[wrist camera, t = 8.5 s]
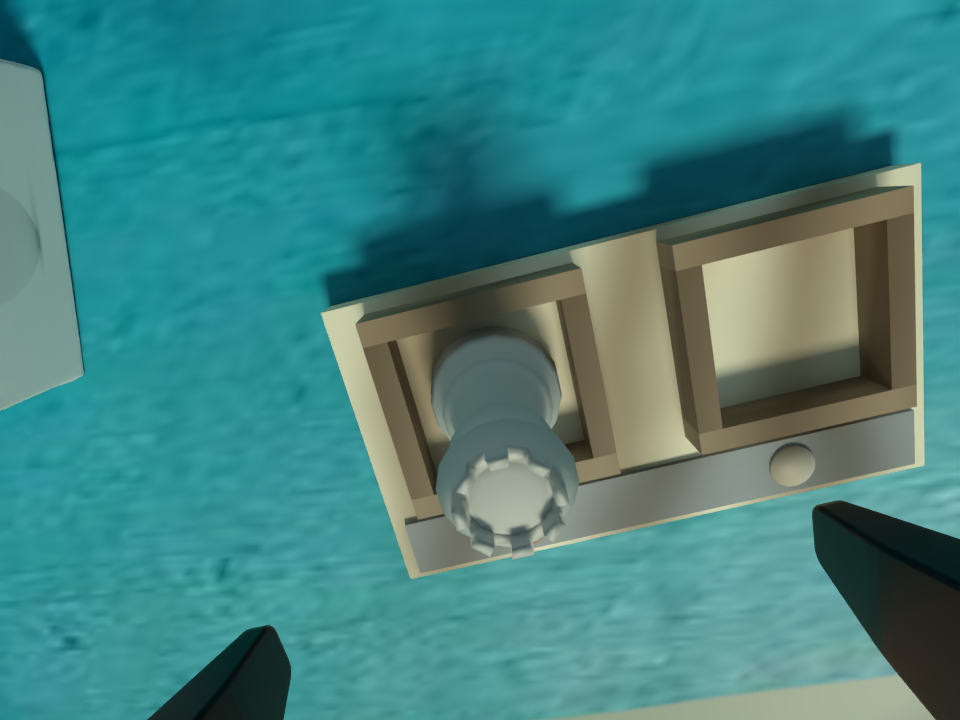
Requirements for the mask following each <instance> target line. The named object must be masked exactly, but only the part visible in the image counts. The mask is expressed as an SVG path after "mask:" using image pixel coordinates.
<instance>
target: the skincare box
mask: <svg viewBox="0 0 960 720" xmlns="http://www.w3.org/2000/svg"><path fill="white" fill-rule="evenodd" d="M82 375H84V369H83V362H82V354H81V346H80V338H79V331H78V324H77V317H76V310H75V303H74V296H73V288H72V281H71V274H70V267H69V260H68V252H67V245H66V238H65V231H64V224H63V217H62V209H61V203H60V196H59V189H58V182H57V175H56V168H55V163H54V157H53V150H52V141H51V135H50V128H49V121H48V112H47V106H46V100H45V93H44V84H43V77H42V74H41V72H40V71H39V70H38V69H36V68H33V67H30V66H27V65H24V64H20V63H16V62H12V61H7V60H2V59H0V411H1V410H3V409H6V408H8V407H10V406H12V405H15V404H17V403H19V402H21V401H24V400H26V399H28V398H30V397H33V396H35V395H37V394H40V393H42V392H44V391H46V390H49V389H51V388H53V387H56V386H59V385H62V384H65V383H68V382H71V381H73V380H75V379H77V378H79V377H81V376H82Z"/></svg>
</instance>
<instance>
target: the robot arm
mask: <svg viewBox="0 0 960 720" xmlns="http://www.w3.org/2000/svg"><path fill="white" fill-rule="evenodd" d="M812 520H813V533H814V545H815V552H816V555H817V558H818V560H819V562H820V564H821V566H822V567H823V569H824V570H825V572H826V573H827V575H828V576H829V577H830V579H831V580H832V582H833V583H834V585H835V586H836V588H837V589H838V591H839V592H840V594H841V595H842V597H843V598H844V600H845V601H846V603H847V604H848V605H849V607H850V608H851V610H852V611H853V613H854V614H855V616H856V617H857V619H858V620H859V622H860V623H861V625H862V626H863V628H864V629H865V631H866V632H867V633H868V635H869V636H870V638H871V639H872V641H873V642H874V644H875V645H876V646H877V648H878V649H879V651H880V652H881V653H882V655H883V656H884V657H885V659H886V660H887V661H888V662H889V664H890V665H891V666H892V667H893V669H894V670H895V671H896V672H897V674H898V675H899V676H900V677H901V678H902V679H903V681H904V682H905V683H906V684H907V686H908V687H909V688H910V689H911V690H912V692H913V693H914V694H915V695H916V697H918V699H919V700H920V701H921V703H922V704H923V705H924V706H925V707H926V709H927V710H928V711H929V712H930V713H931V715H932V716H933V717H934V718H935V720H960V539H958V538H955V537H952V536H949V535H946V534H943V533H940V532H936V531H933V530H930V529H927V528H924V527H921V526H918V525H915V524H912V523H909V522H906V521H903V520H900V519H897V518H894V517H891V516H888V515H885V514H882V513H879V512H875V511H872V510H869V509H866V508H863V507H860V506H857V505H854V504H851V503H848V502H845V501H833V502H829V503H824V504H820V505H816V506H815V507H814V508H813V511H812ZM290 679H291V666H290V662H289V659H288V657H287V654H286V652H285V650H284V648H283V645H282V643H281V641H280V638H279V636H278V634H277V632H276V630H275V628H273V627H272V626H270V625H265V626H261V627H256V628H251V629H248V630H246V631H245V632H243V633H242V634H241V635H240V636H239V637H238V638H237V639H236V640H235V641H233V642H232V643H231V644H230V645H229V646H228V647H227V648H226V649H225V650H224V651H222V652H221V653H220V654H219V655H218V656H217V657H216V658H215V659H214V660H213V661H211V662H210V663H209V664H208V665H207V666H206V667H205V668H204V669H203V670H201V671H200V672H199V673H198V674H197V675H196V676H195V677H194V678H193V679H192V680H190V681H189V682H188V683H187V684H186V685H185V686H184V687H183V688H182V689H181V690H179V691H178V692H177V693H176V694H175V695H174V696H173V697H172V698H171V699H170V700H168V701H167V702H166V703H165V704H164V705H163V706H162V707H161V708H160V709H158V710H157V711H156V712H155V713H154V714H153V715H152V716H151V717H150V718H149V719H147V720H283V719H284V714H285V708H286V702H287V697H288V691H289V685H290Z"/></svg>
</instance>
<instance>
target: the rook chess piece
mask: <svg viewBox="0 0 960 720" xmlns="http://www.w3.org/2000/svg"><path fill="white" fill-rule="evenodd" d="M430 393H431V405H432V408H433V411H434V415H435V418H436V421H437V425H438V426H439V428H440V429H441V430H442V431H443V433H444V434H445V435H446V436H447V437H448V439H449V440H450V441H451V442H450V448H449V449H448V451H447V452H446V454H445V456H444V457H443V459H442V460H441V462H440V464H439V469H438V476H437V483H436V492H437V495H438V498H439V502H440V505H441V508H442V511H443V514H444V515H445V516H446V517H447V518H448V519H449V520H450V522H451V523H452V524H453V525H454V526H455V527H456V530H457V531H459V532H460V533H462V534H464V535H466V536H468V537H470V538H471V548H473V549H475V550H477V551H479V552H481V553H483V554H485V555H487V556H489V557H491V554H492V552H493V549H494V547H495V545H496V546H505V547H511V550H512V558H513V559H517V558H522V557H526V556H531V555H535V553H534V548H533V542H535V541H538V540H539V539H541V538H542V537H544V536H546V537H547V538H548V539H549V540H551V541H552V542H554V541H555V540H556V538H557V537H558V536H559V534H560V533H561V531H562V530H563V529H564V527H565V526H566V524H565V521H564V519H565V518H566V516H567V515H568V514H569V512H570V511H571V509H572V508H573V507H574V504H575V499H576V495H577V490H578V485H579V477H578V473H577V469H576V464H575V460H574V456H573V455H572V454H571V452H570V451H569V450H568V449H567V447H566V446H565V445H564V443H563V442H562V441H561V439H560V438H559V437H558V436H557V435H555V433H554V432H553V430H552V429H551V428H552V427H553V426H554V424H555V423H556V420H557V417H558V412H559V407H560V402H561V397H562V392H561V388H560V383H559V379H558V374H557V370H556V366H555V362H554V360H553V359H552V358H551V356H550V355H549V354H548V352H547V351H546V350H545V348H544V347H543V346H542V344H541V343H540V342H539V341H537V340H535V339H534V338H532V337H530V336H528V335H527V334H525V333H523V332H522V331H520V330H518V329H511V328H504V327H497V326H490V327H486V328H482V329H478V330H474V331H470V332H467V333H465V334H464V335H462V336H461V337H460V338H458V339H457V340H456V341H454V342H453V343H452V344H450V345H449V346H447V347H446V349H445V350H444V352H443V354H442V355H441V357H440V359H439V360H438V362H437V364H436V365H435V367H434V369H433V376H432V384H431V392H430Z"/></svg>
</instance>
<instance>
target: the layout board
mask: <svg viewBox="0 0 960 720" xmlns="http://www.w3.org/2000/svg"><path fill="white" fill-rule="evenodd" d="M321 315H322V318H323V321H324V324H325V327H326V330H327V333H328V336H329V339H330V342H331V345H332V348H333V350H334V353H335V356H336V359H337V362H338V365H339V368H340V371H341V374H342V377H343V380H344V383H345V386H346V389H347V392H348V395H349V398H350V401H351V404H352V407H353V410H354V413H355V416H356V419H357V422H358V425H359V427H360V430H361V433H362V436H363V439H364V442H365V445H366V448H367V451H368V454H369V457H370V460H371V463H372V466H373V469H374V472H375V475H376V478H377V481H378V484H379V487H380V490H381V493H382V496H383V499H384V502H385V504H386V507H387V510H388V513H389V516H390V519H391V522H392V525H393V528H394V531H395V534H396V537H397V540H398V543H399V546H400V549H401V552H402V555H403V558H404V561H405V564H406V567H407V570H408V573H409V576H410V579H413V578H417V577H422V576H426V575H431V574H435V573H440V572H444V571H449V570H453V569H458V568H462V567H467V566H471V565H476V564H480V563H485V562H489V561H494V560H498V559H503V558H508V557H512V550H511V547H505V546H496V545H495V547H494V549H493V552H492V554H491V557H489V556H487V555H485V554H483V553H481V552H479V551H477V550H475V549H473V548H471V538H470V537H468V536H466V535H464V534H462V533H460V532H459V531H457V530H456V527H455V526H454V525H453V524H452V523H451V522H450V520H449V519H448V518H447V517H446V516H445V515H444V514H443V511H442V508H441V505H440V502H439V498H438V495H437V492H436V483H437V476H438V469H439V464H440V462H441V460H442V459H443V457H444V456H445V454H446V452H447V451H448V449H449V448H450V442H451V441H450V440H449V439H448V437H447V436H446V435H445V434H444V433H443V431H442V430H441V429H440V428H439V426H438V425H437V421H436V418H435V415H434V411H433V408H432V405H431V393H430V392H431V384H432V376H433V369H434V367H435V365H436V364H437V362H438V360H439V359H440V357H441V355H442V354H443V352H444V350H445V349H446V347H447V346H449V345H450V344H452V343H453V342H454V341H456V340H457V339H458V338H460V337H461V336H462V335H464V334H465V333H467V332H470V331H474V330H478V329H482V328H486V327H490V326H497V327H504V328H511V329H518V330H520V331H522V332H523V333H525V334H527V335H528V336H530V337H532V338H534V339H535V340H537V341H539V342H540V343H541V344H542V346H543V347H544V348H545V350H546V351H547V352H548V354H549V355H550V356H551V358H552V359H553V360H554V362H555V366H556V370H557V374H558V379H559V383H560V388H561V392H562V397H561V402H560V407H559V412H558V417H557V420H556V423H555V424H554V426H553V427H552V428H551V429H552V430H553V432H554V433H555V435H557V436H558V437H559V438H560V439H561V441H562V442H563V443H564V445H565V446H566V447H567V449H568V450H569V451H570V452H571V454H572V455H573V456H574V460H575V464H576V469H577V473H578V477H579V485H578V490H577V495H576V499H575V504H574V507H573V508H572V509H571V511H570V512H569V514H568V515H567V516H566V518H565V519H564V521H565V524H566V526H565V527H564V529H563V530H562V531H561V533H560V534H559V536H558V537H557V538H556V540H555V541H554V542H552V541H551V540H549V539H548V538H547V537H546V536H544V537H542V538H541V539H539V540H538V541H535V542H533V548H534V552H535V551H539V550H544V549H548V548H553V547H557V546H562V545H566V544H571V543H575V542H580V541H584V540H589V539H593V538H598V537H603V536H607V535H612V534H616V533H621V532H625V531H630V530H634V529H639V528H643V527H648V526H652V525H657V524H661V523H666V522H670V521H675V520H679V519H684V518H688V517H693V516H698V515H702V514H707V513H711V512H716V511H720V510H725V509H729V508H734V507H738V506H743V505H747V504H752V503H756V502H761V501H765V500H770V499H774V498H779V497H783V496H788V495H793V494H797V493H802V492H806V491H811V490H815V489H820V488H824V487H829V486H833V485H838V484H842V483H847V482H851V481H856V480H860V479H865V478H869V477H874V476H879V475H883V474H888V473H892V472H897V471H901V470H906V469H910V468H915V467H919V466H924V388H923V300H922V212H921V163H914V164H902V165H892V166H888V167H884V168H880V169H876V170H872V171H868V172H864V173H860V174H856V175H852V176H848V177H844V178H840V179H836V180H832V181H828V182H824V183H820V184H816V185H812V186H808V187H804V188H800V189H796V190H792V191H788V192H784V193H780V194H776V195H772V196H768V197H764V198H760V199H756V200H752V201H748V202H744V203H740V204H736V205H732V206H728V207H724V208H720V209H716V210H712V211H708V212H704V213H700V214H696V215H692V216H688V217H684V218H680V219H676V220H672V221H668V222H664V223H660V224H656V225H652V226H648V227H644V228H640V229H636V230H632V231H629V232H625V233H621V234H617V235H613V236H609V237H605V238H601V239H597V240H593V241H589V242H585V243H581V244H577V245H573V246H569V247H565V248H561V249H557V250H553V251H549V252H545V253H541V254H537V255H533V256H529V257H525V258H521V259H517V260H513V261H509V262H505V263H501V264H497V265H493V266H489V267H485V268H481V269H477V270H473V271H469V272H465V273H461V274H457V275H453V276H449V277H445V278H441V279H437V280H433V281H429V282H425V283H421V284H417V285H413V286H409V287H405V288H401V289H397V290H393V291H389V292H385V293H381V294H377V295H373V296H369V297H365V298H361V299H357V300H353V301H349V302H345V303H341V304H337V305H333V306H330V307H328V308H327V309H326V310H324V311H323V312H322V313H321Z"/></svg>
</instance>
